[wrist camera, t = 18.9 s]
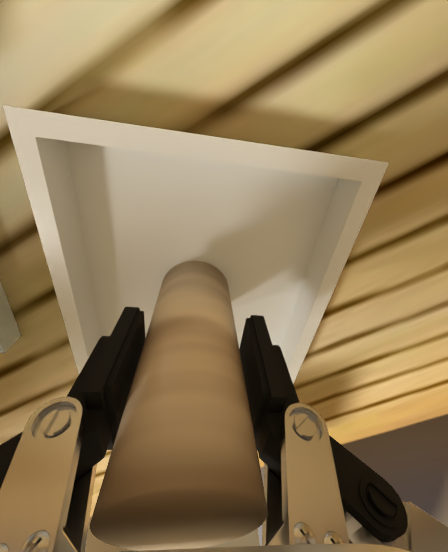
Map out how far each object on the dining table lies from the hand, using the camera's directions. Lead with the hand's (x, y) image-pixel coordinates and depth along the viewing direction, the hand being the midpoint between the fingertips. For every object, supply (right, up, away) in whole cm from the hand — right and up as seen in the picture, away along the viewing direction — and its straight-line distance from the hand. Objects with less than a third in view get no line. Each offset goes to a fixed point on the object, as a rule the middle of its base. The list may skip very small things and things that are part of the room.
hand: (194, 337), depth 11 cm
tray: (0, +2, +4) cm, 5 cm away
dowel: (0, +2, +3) cm, 4 cm away
